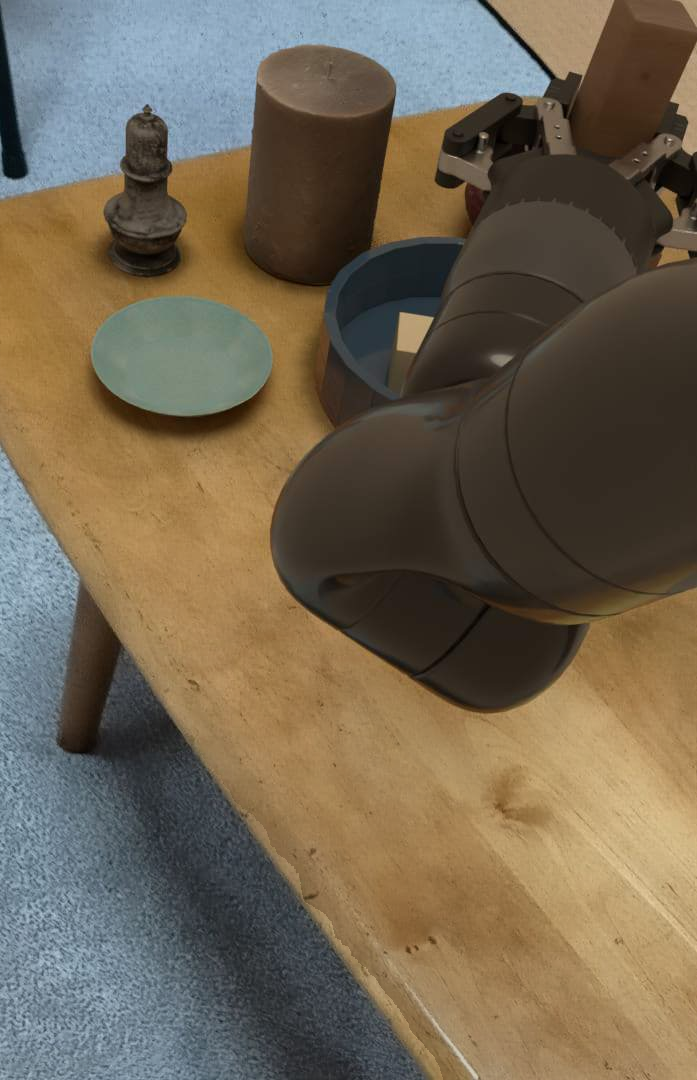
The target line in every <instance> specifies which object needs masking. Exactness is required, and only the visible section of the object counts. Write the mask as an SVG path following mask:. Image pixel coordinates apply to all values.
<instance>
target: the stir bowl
mask: <svg viewBox="0 0 697 1080" xmlns="http://www.w3.org/2000/svg"><path fill="white" fill-rule="evenodd" d="M466 239H467V238H463V237H457V236H418V237H412V238H405V239H401V240H395V241H389V242H386V243H384V244H381V245H379V246H377V247H374V248H372V249H371V248H370V250H369V251H366V252H364V253H362V254H360V255H359V256H358V257H356V258H355V259H354V260H352V261H351V262H350V263H349V264H347V265H346V266H345V267H343V268H342V269H341V270H340V271H339V273H338V274H337V276H336V277H335V279H334V281H333V282H332V283H331V284H329V287H328V288H327V290H326V294H325V300H324V308H323V314H322V322H321V328H320V335H319V340H318V341H319V342H318V346H317V355H316V360H315V367H314V369H315V370H314V371H315V372H314V378H315V379H314V380H315V387H316V391H317V392H316V393H317V395H318V398H319V400H320V403H321V405H322V407H323V409H324V411H325V413H326V415H327V417H328V418H329V420H330V421H331V422H332V424H333V425H334V426H335V429H336V428H337V427H339V426H340V425H342V424H344V423H345V422H347V421H348V420H350V419H352V418H353V417H355V416H357V415H358V414H360V413H362V412H364V411H366V410H368V409H371V408H373V407H375V406H378V405H381V404H384V403H387V402H390V401H393V400H396V399H399V396H400V394H398V393H396V392H394V391H393V390H391V389H389V388H388V377H389V365H390V356H391V351H392V346H393V342H394V337H395V332H396V327H397V322H398V318H399V313H400V312H403V313H409V314H416V315H422V316H428V317H435V315H436V313H437V311H438V308H439V303H440V299H441V295H442V292H443V288H444V285H445V282H446V280H447V278H448V276H449V273H450V271H451V269H452V267H453V265H454V263H455V261H456V259H457V257H458V255H459V253H460V251H461V249H462V247H463V245H464V243H465V241H466Z"/></svg>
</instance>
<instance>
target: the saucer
mask: <svg viewBox="0 0 697 1080" xmlns="http://www.w3.org/2000/svg"><path fill="white" fill-rule="evenodd" d="M273 354H274V351H273V348H272V344H271V343H270V340H269V338H268V336H267V334H265V332H264V331H263V329H262V328H261V327H260V326H259V325H258V324H257V323H256V322H254V320H252V319H251V318H250V317H248V315H245V314H244V313H243V312H241V311H240V310H238V309H236V308H235V307H232V306H229V305H227V304H225V303H222V302H219V301H217V300H213V299H209V298H204V297H199V296H198V297H197V296H190V295H189V296H188V295H166V296H157V297H152V298H145V299H142V300H139V301H136V302H133V303H131V304H129V305H126V306H124V307H123V308H120V309H119V310H117V311H115V312H114V313H112V314H110V315H109V317H107V318H106V319H105V320H104V322H102V324H101V325H100V326H99V327H98V328H97V330H96V331H95V334H94V336H93V339H92V341H91V344H90V360H91V365H92V367H93V370H94V372H95V374H96V376H97V378H99V381H101V383H102V384H103V385H104V386H105V387H106V388H107V390H109V392H111V393H112V394H113V395H114V396H116V397H118V398H119V399H121V400H122V401H124V402H126V403H128V404H130V405H132V406H134V407H136V408H138V409H142V410H144V411H146V412H150V413H153V414H158V415H162V416H168V417H176V418H198V417H205V416H211V415H215V414H219V413H222V412H225V411H228V410H231V409H233V408H235V407H237V406H240V405H241V404H243V403H245V402H246V401H249V400H250V399H251V398H253V397H254V396H255V395H256V394H257V393H258V392H259V391H260V390H262V388H263V387H264V386H265V384H266V382H267V381H268V379H269V378H270V376H271V372H272V370H273V364H274V355H273Z"/></svg>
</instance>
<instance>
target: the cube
mask: <svg viewBox="0 0 697 1080" xmlns="http://www.w3.org/2000/svg"><path fill="white" fill-rule="evenodd" d="M433 319H434V317H428V316H422V315H416V314H409V313H403V312H400V313H399V318H398V322H397V327H396V332H395V337H394V342H393V346H392V351H391V356H390V365H389V377H388V388H389V389H391V390H393V391H394V392H396V393H398V394H400V392H401V388H402V385H403V382H404V379H405V376H406V374H407V372H408V369H409V367H410V365H411V363H412V361H413V359H414V357H415V355H416V353H417V351H418V349H419V347H420V345H421V343H422V341H423V339H424V337H425V335H426V333H427V331H428V329H429V327H430V325H431V323H432V321H433Z"/></svg>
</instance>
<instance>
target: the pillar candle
mask: <svg viewBox="0 0 697 1080" xmlns="http://www.w3.org/2000/svg"><path fill="white" fill-rule="evenodd" d="M257 67H258V68H257V70H256V77H254V78H255V81H256V83H255V84H256V85H255V94H254V96H255V97H254V98H255V99H254V109H253V126H252V129H251V144H250V157H249V158H250V159H249V169H248V177H247V180H248V181H247V193H246V194H247V195H246V204H245V206H246V207H245V219H244V220H245V221H244V228H243V235H244V237H243V238H244V248H245V250H246V252H247V255H248V256H249V257H250V259H251V260H252V262H254V263H255V264H256V265H257V266H258V267H260V268H261V269H263V270H264V271H266V272H267V273H268V274H271V275H273V276H276V277H278V278H282V279H284V280H289V281H292V282H297V283H301V284H306V285H314V286H319V285H323V286H324V285H325V286H326V285H331V284H332V282H333V281H334V279H335V277H336V276H337V274H338V273H339V271H340V270H341V269H342V268H343V267H345V266H346V265H347V264H349V263H350V262H351V261H352V260H354V259H355V258H356V257H358V256H359V255H360V254H362V253H364V252H366V251H369V250H371V247H372V243H373V236H374V230H375V220H376V218H377V210H378V207H379V199H380V193H381V187H382V186H381V184H382V181H383V174H384V167H385V160H386V155H387V149H388V143H389V140H390V139H389V138H390V132H391V127H392V121H393V115H394V109H395V104H396V97H397V84H396V81H395V78H394V76H393V75H392V74H391V72H390V71H389V70H388V69H387V68H385V66H383V65H382V64H381V63H379V62H378V61H376V60H374V59H373V58H371V57H369V56H366V55H364V54H362V53H359V52H356V51H354V50H350V49H347V48H343V47H336V46H332V45H331V46H330V45H326V44H322V43H321V44H320V43H318V44H312V43H311V44H309V43H308V44H300V45H294V46H293V47H288V48H281V49H278V51H274V52H272V53H269V55H268V56H266V57H265V58H264V60H262V61H260V64H259V66H257Z"/></svg>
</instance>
